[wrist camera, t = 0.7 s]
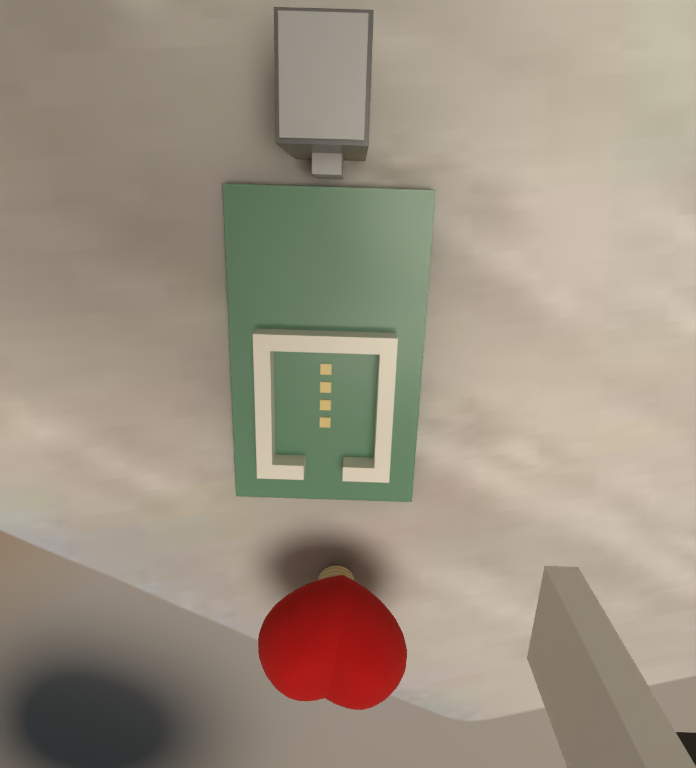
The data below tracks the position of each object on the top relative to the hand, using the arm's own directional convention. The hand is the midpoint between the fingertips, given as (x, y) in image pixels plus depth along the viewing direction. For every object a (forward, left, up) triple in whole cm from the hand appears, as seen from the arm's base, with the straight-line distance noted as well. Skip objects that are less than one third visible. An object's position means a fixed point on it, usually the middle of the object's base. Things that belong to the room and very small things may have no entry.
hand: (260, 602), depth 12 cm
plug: (-14, 0, -23) cm, 27 cm away
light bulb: (+17, +1, -23) cm, 29 cm away
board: (0, 0, -23) cm, 23 cm away
